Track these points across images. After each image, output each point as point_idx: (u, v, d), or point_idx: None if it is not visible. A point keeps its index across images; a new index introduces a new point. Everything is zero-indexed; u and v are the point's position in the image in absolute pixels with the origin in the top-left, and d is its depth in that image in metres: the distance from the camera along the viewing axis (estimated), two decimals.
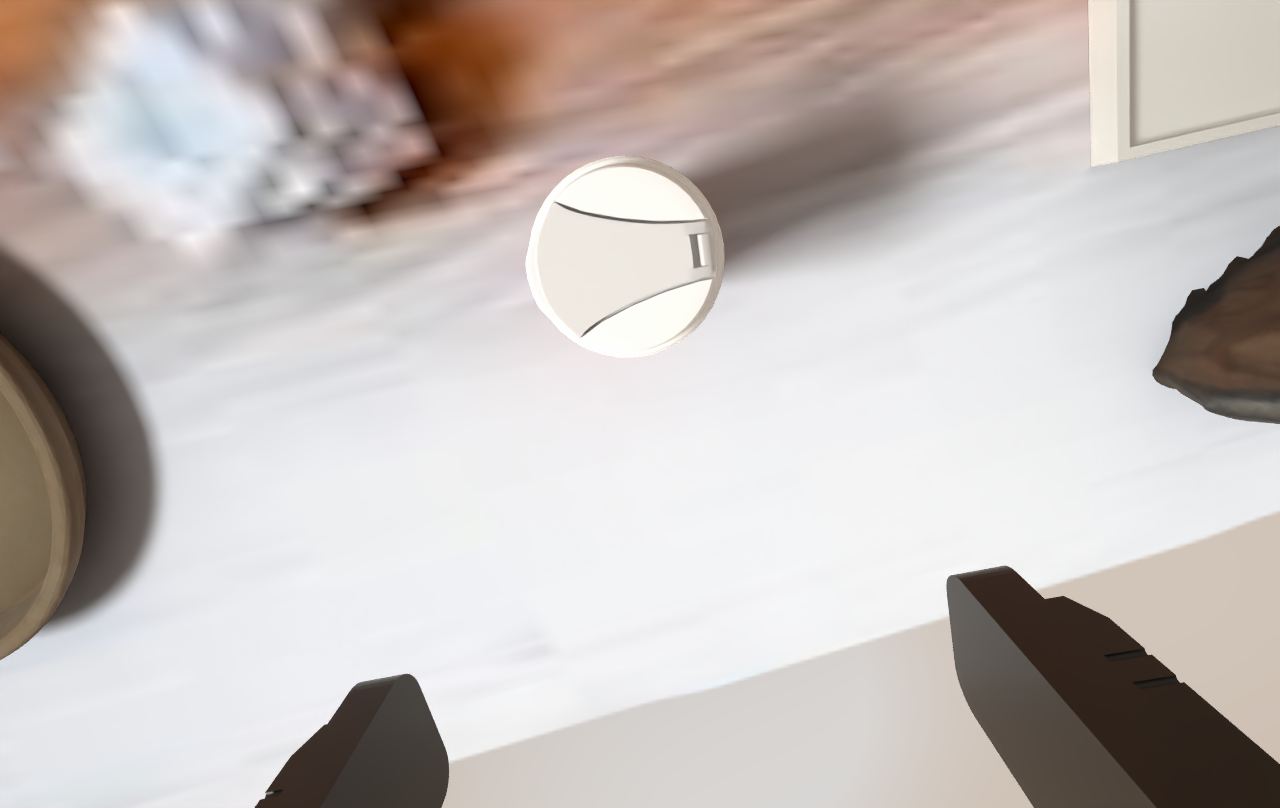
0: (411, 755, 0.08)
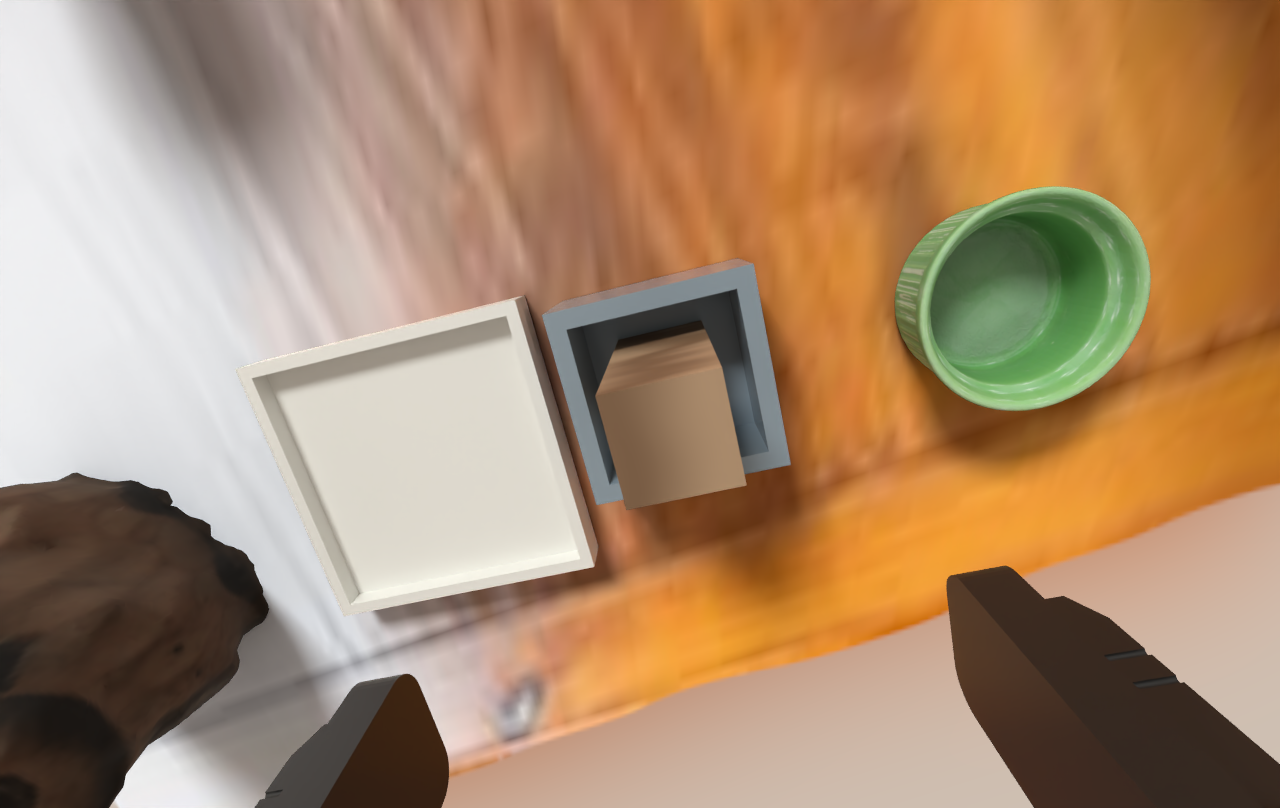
0: (410, 755, 0.08)
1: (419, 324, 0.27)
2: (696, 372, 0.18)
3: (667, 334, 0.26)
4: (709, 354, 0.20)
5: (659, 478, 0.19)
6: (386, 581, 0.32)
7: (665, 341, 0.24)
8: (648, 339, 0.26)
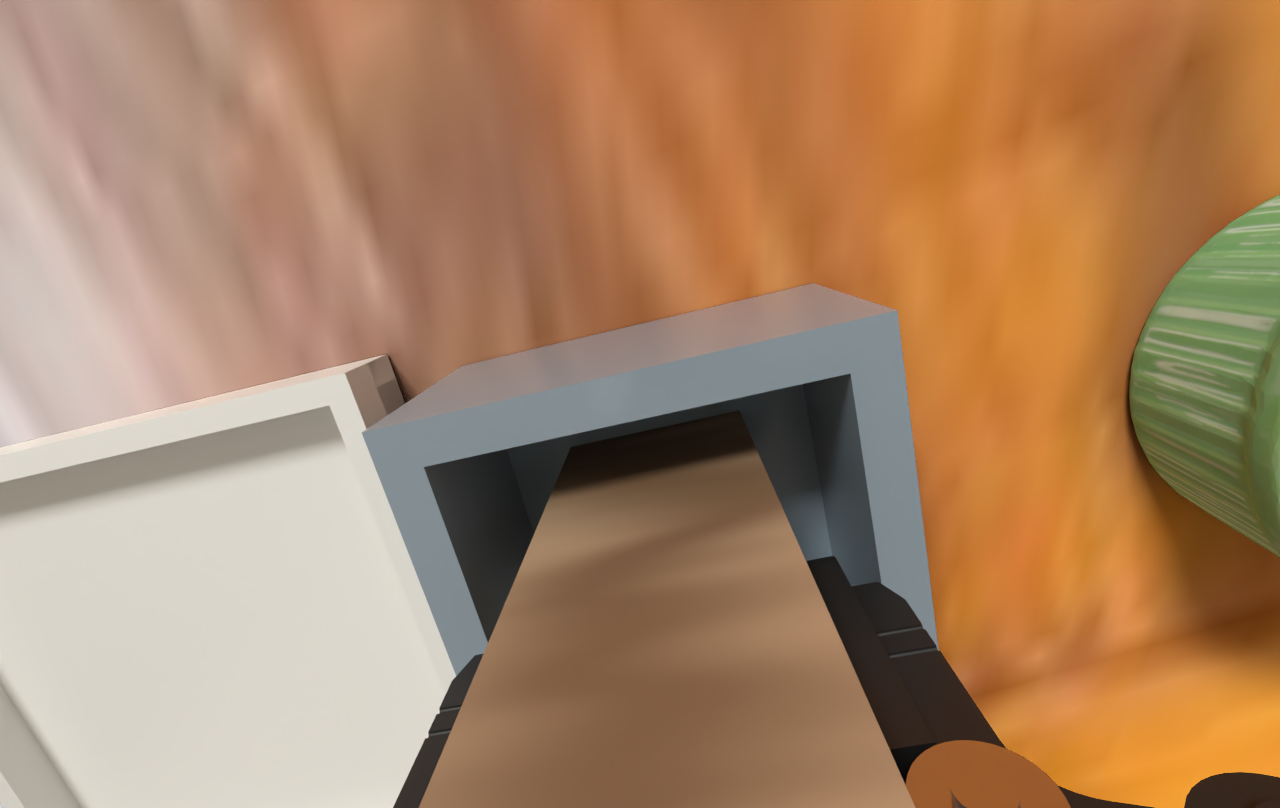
0: None
1: (151, 421, 0.13)
2: None
3: (670, 452, 0.12)
4: (816, 637, 0.06)
5: None
6: None
7: (666, 486, 0.10)
8: (629, 464, 0.12)
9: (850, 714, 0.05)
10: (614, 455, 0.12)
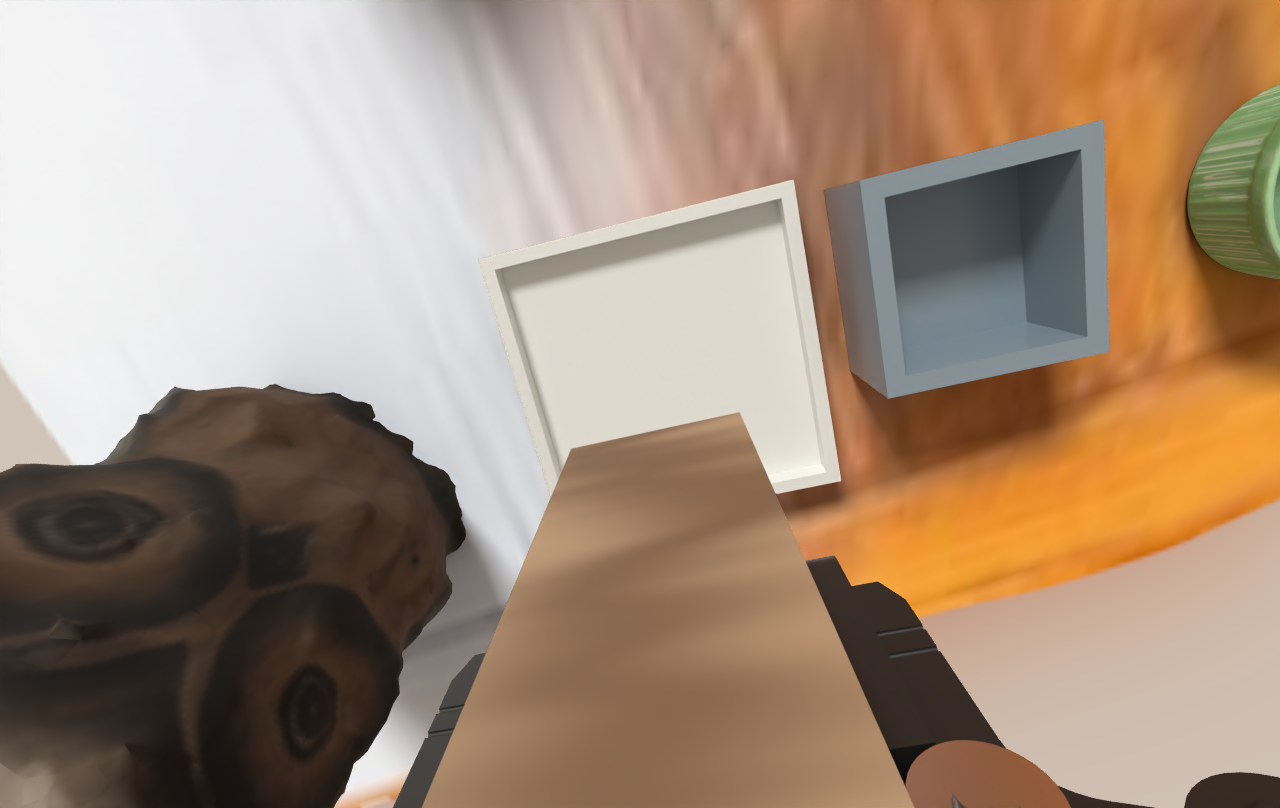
0: None
1: (685, 208, 0.25)
2: None
3: (671, 454, 0.12)
4: (817, 641, 0.06)
5: None
6: None
7: (667, 488, 0.10)
8: (629, 466, 0.12)
9: (851, 719, 0.05)
10: (614, 457, 0.12)
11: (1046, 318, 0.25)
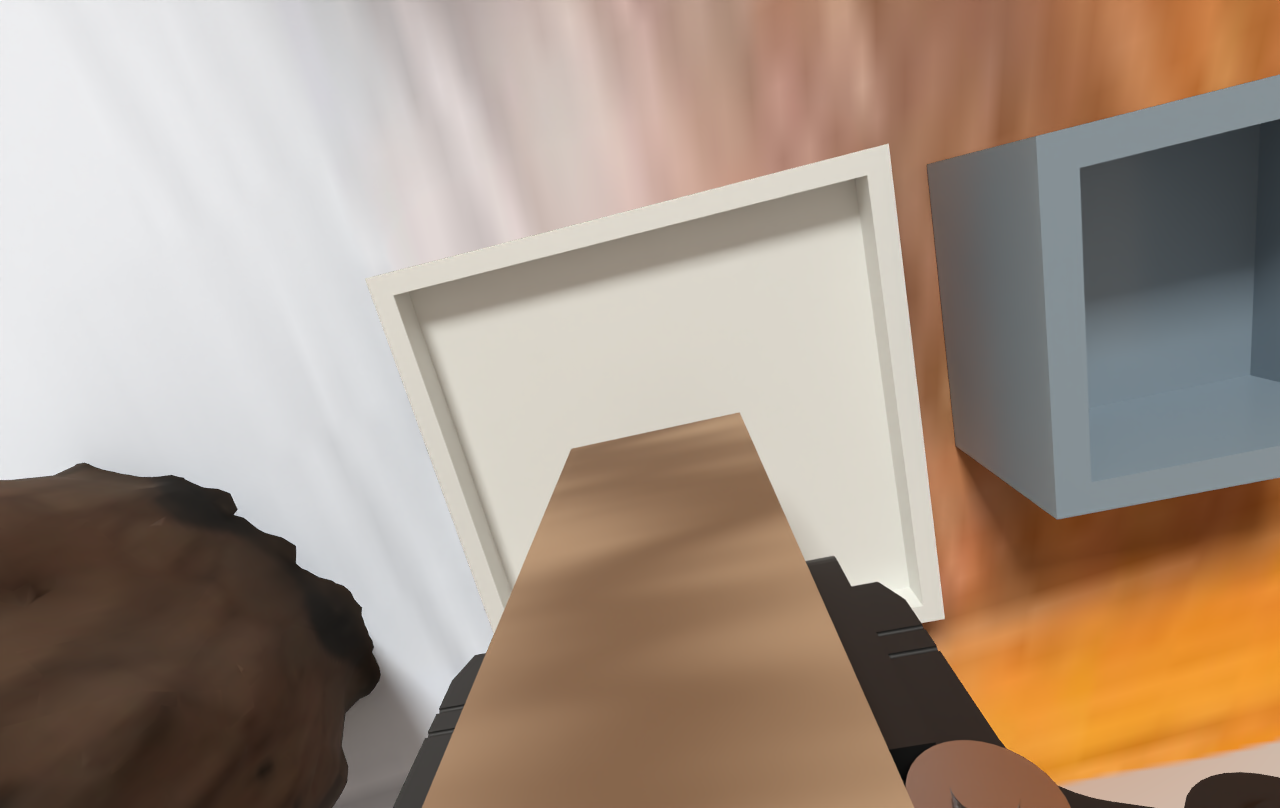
0: None
1: (704, 193, 0.15)
2: None
3: (671, 455, 0.12)
4: (818, 641, 0.06)
5: None
6: None
7: (667, 489, 0.10)
8: (629, 467, 0.12)
9: (852, 720, 0.05)
10: (614, 457, 0.12)
11: None
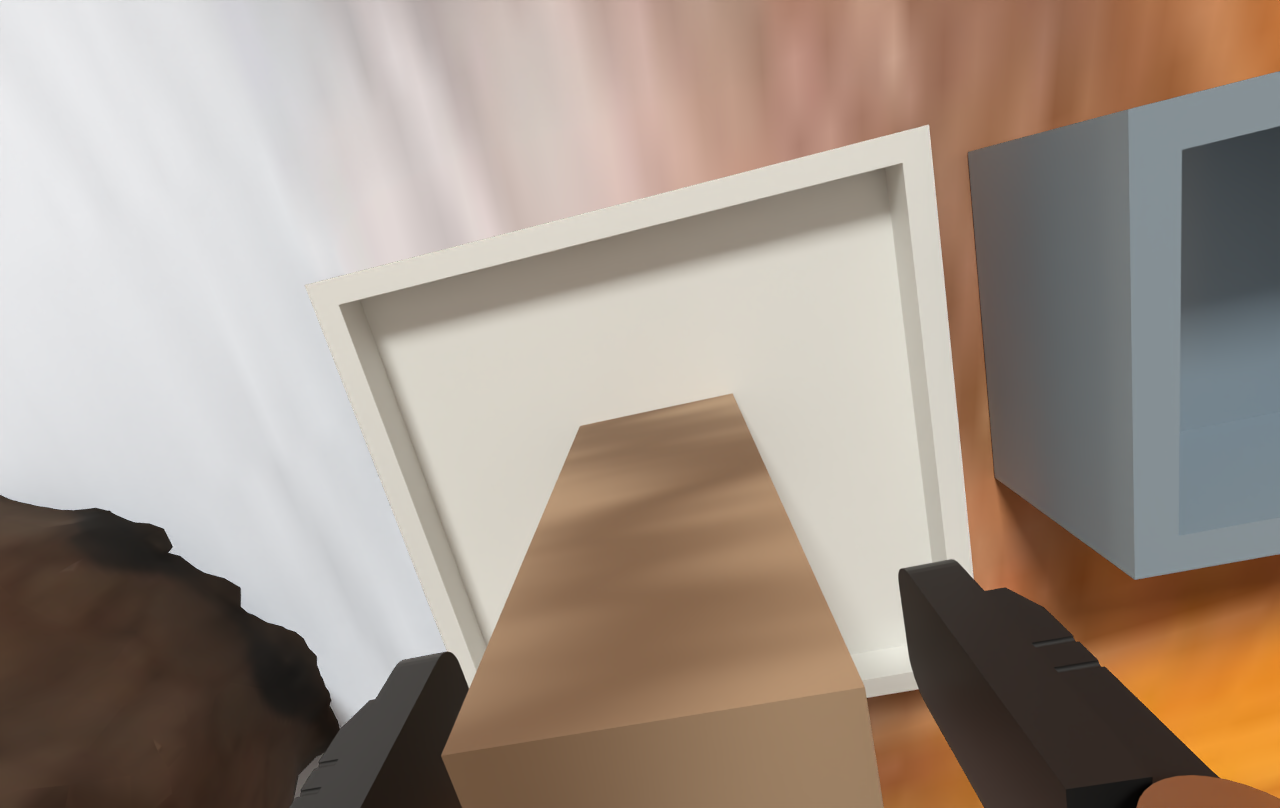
0: None
1: (707, 184, 0.13)
2: (775, 694, 0.05)
3: (670, 428, 0.13)
4: (788, 558, 0.07)
5: None
6: None
7: (667, 455, 0.12)
8: (633, 439, 0.13)
9: (810, 607, 0.06)
10: (620, 431, 0.14)
11: None
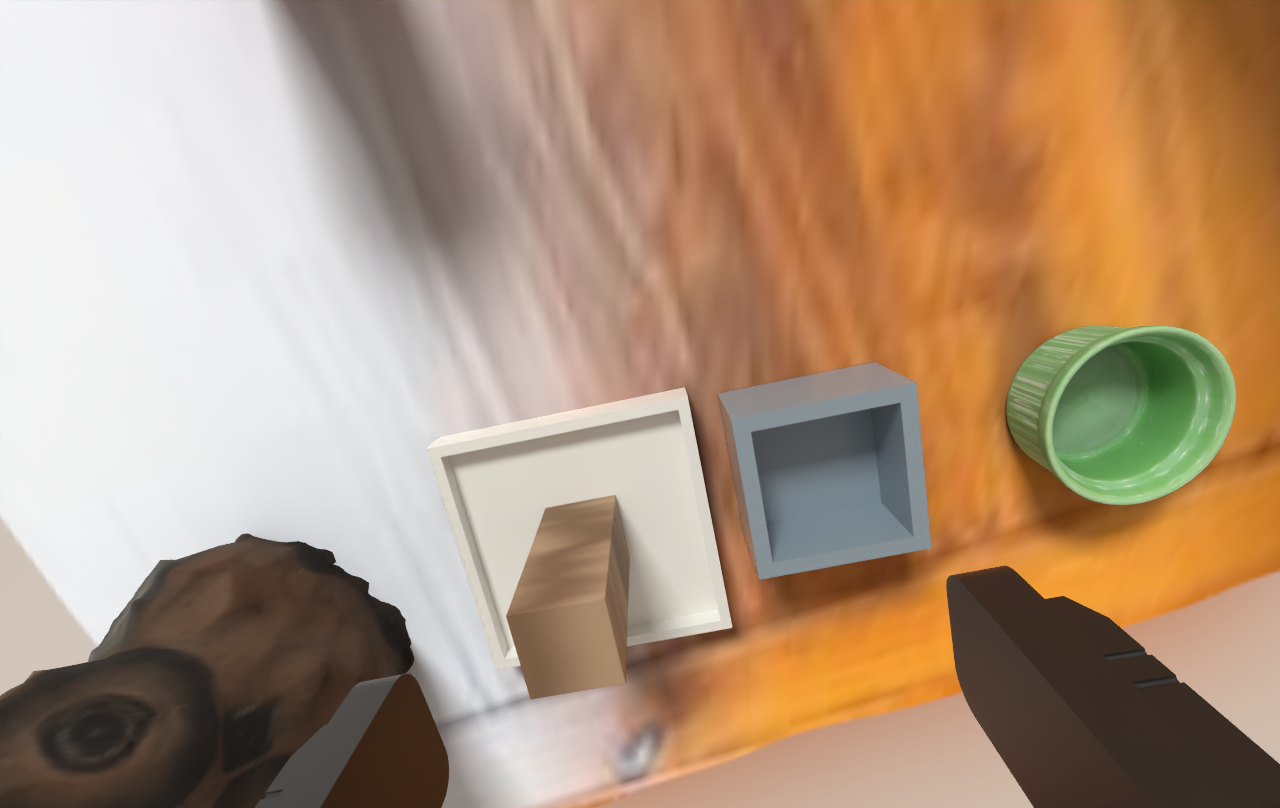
0: (410, 755, 0.08)
1: (599, 414, 0.30)
2: (585, 601, 0.23)
3: (583, 514, 0.31)
4: (603, 569, 0.25)
5: (557, 676, 0.24)
6: None
7: (579, 528, 0.30)
8: (567, 518, 0.31)
9: (602, 582, 0.24)
10: (562, 513, 0.32)
11: (891, 508, 0.31)
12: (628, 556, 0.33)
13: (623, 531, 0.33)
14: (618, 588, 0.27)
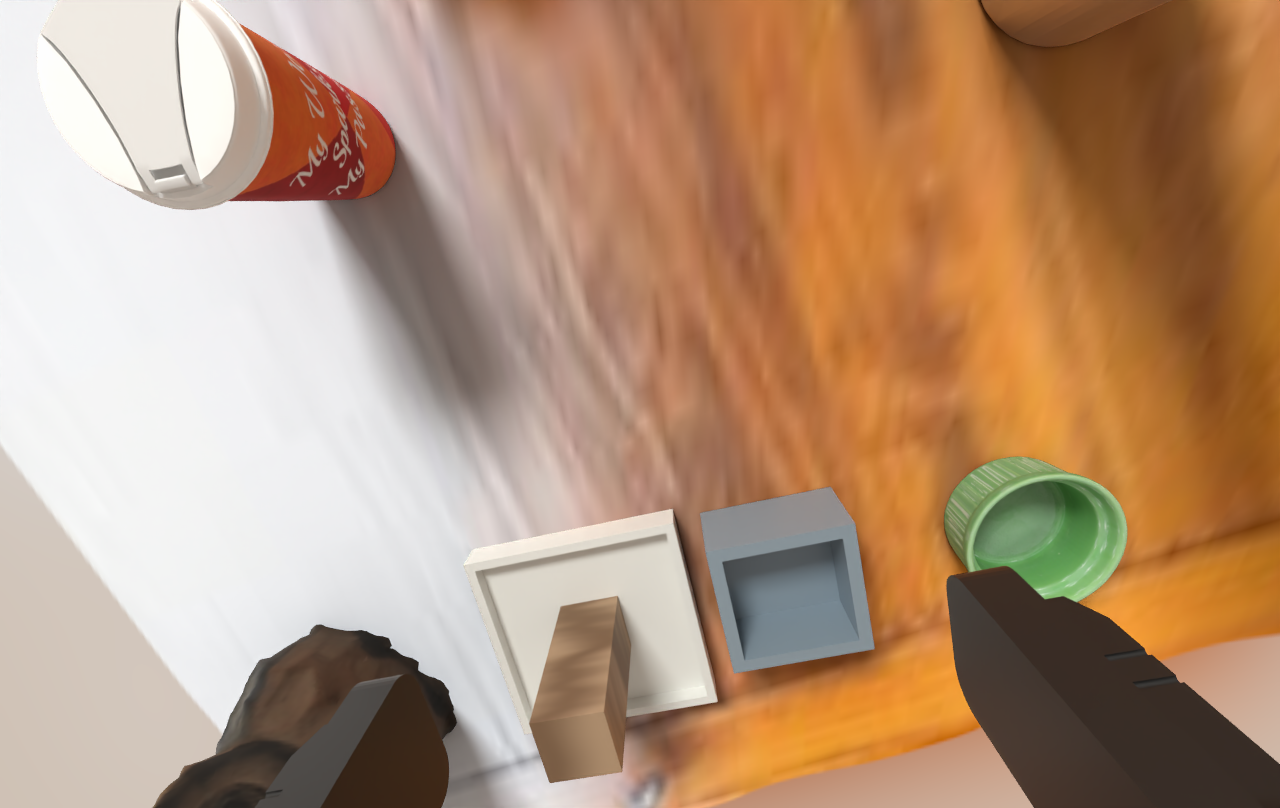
0: (411, 754, 0.08)
1: (602, 537, 0.37)
2: (589, 712, 0.30)
3: (591, 616, 0.38)
4: (603, 680, 0.32)
5: (569, 766, 0.31)
6: None
7: (586, 632, 0.37)
8: (578, 620, 0.38)
9: (602, 694, 0.31)
10: (574, 614, 0.39)
11: (845, 609, 0.38)
12: (629, 644, 0.40)
13: (625, 624, 0.40)
14: (617, 688, 0.34)
